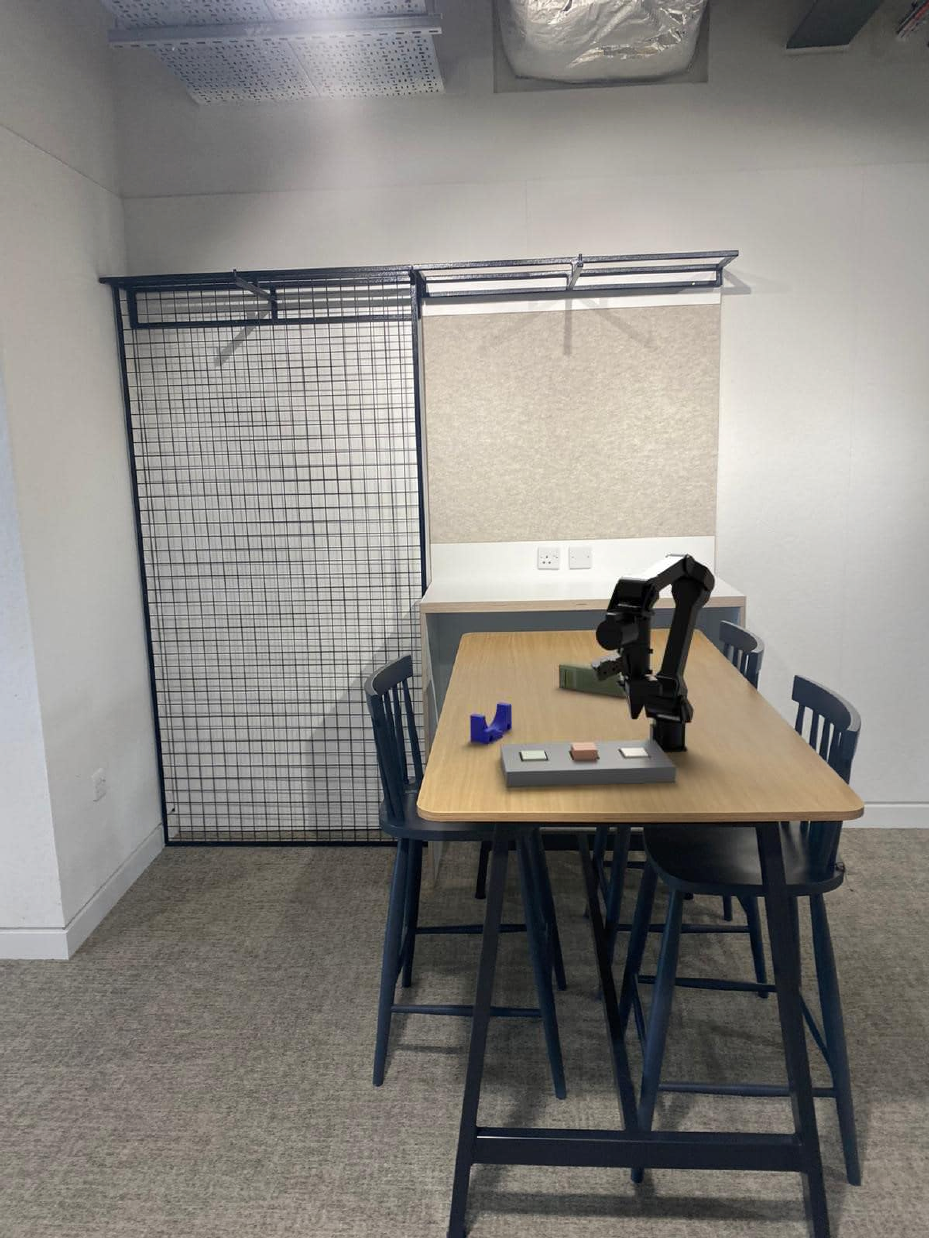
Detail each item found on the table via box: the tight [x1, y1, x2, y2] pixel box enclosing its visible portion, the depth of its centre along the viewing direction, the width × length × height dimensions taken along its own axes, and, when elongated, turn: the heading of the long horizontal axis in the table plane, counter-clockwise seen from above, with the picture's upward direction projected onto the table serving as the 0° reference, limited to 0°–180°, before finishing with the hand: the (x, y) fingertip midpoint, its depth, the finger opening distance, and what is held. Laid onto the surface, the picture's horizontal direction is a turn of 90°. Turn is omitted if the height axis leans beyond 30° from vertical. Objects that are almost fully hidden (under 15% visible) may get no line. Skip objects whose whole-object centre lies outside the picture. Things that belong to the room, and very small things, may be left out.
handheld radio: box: [558, 662, 626, 698], centre depth 226 cm, size 7×3×25 cm
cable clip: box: [469, 702, 513, 745], centre depth 193 cm, size 12×4×6 cm, turn 144°
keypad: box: [499, 739, 677, 788], centre depth 170 cm, size 32×16×3 cm, turn 92°
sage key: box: [521, 751, 546, 762], centre depth 170 cm, size 4×4×2 cm
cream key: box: [621, 748, 649, 759], centre depth 171 cm, size 4×4×2 cm
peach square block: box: [571, 741, 598, 760], centre depth 170 cm, size 4×4×2 cm
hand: (634, 718), depth 170 cm, fingers closed
